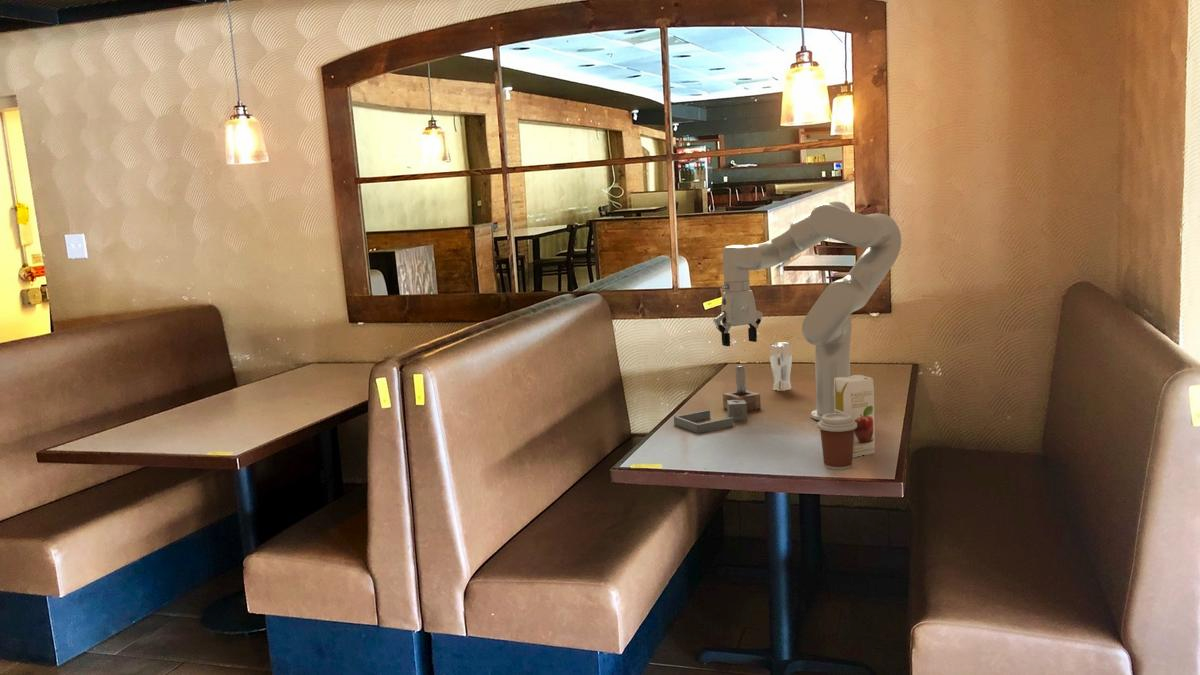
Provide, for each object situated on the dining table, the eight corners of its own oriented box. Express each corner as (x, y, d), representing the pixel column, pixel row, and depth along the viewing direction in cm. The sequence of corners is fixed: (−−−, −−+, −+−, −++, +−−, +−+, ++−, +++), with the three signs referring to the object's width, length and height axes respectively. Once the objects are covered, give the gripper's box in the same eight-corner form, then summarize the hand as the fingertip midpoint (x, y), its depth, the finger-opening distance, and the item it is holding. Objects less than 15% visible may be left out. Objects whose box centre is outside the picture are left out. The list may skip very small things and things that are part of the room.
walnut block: (760, 408, 276) (760, 393, 275) (739, 412, 273) (738, 398, 272) (744, 403, 283) (744, 389, 282) (723, 408, 280) (722, 393, 279)
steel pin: (748, 408, 277) (746, 366, 275) (740, 409, 276) (739, 367, 274) (742, 406, 280) (741, 365, 278) (735, 408, 278) (733, 366, 276)
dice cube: (744, 416, 269) (744, 399, 268) (747, 420, 264) (746, 403, 263) (727, 417, 269) (727, 400, 268) (729, 421, 264) (728, 404, 263)
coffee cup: (835, 457, 223) (834, 409, 221) (866, 465, 216) (865, 415, 214) (810, 466, 218) (808, 417, 216) (841, 474, 210) (839, 423, 208)
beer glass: (791, 386, 303) (790, 341, 300) (794, 391, 296) (792, 345, 294) (770, 387, 303) (768, 342, 301) (772, 392, 297) (770, 346, 294)
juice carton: (831, 452, 228) (829, 377, 225) (860, 446, 230) (858, 372, 227) (849, 459, 221) (848, 382, 218) (879, 454, 223) (878, 378, 220)
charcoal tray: (733, 425, 258) (733, 417, 258) (698, 433, 253) (697, 424, 252) (708, 417, 269) (708, 409, 269) (674, 424, 264) (673, 416, 263)
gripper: (720, 290, 265) (723, 349, 267) (768, 284, 273) (770, 341, 275) (705, 289, 271) (708, 346, 274) (752, 283, 279) (755, 338, 282)
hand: (739, 343), depth 275 cm, fingers open, 9 cm apart
